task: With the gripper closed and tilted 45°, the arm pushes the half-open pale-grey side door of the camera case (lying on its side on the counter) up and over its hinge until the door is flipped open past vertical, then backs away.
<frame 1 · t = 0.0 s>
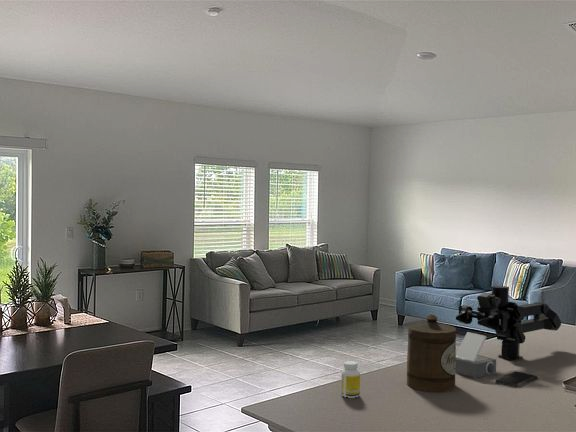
hand: (466, 320, 212), 17 cm above the kitchen island, tool horizontal, fingers open, 9 cm apart
wooden container: (430, 385, 193), on the kitchen island
phone: (516, 382, 199), on the kitchen island
camera case: (475, 372, 207), on the kitchen island
supplement bottle: (350, 396, 182), on the kitchen island
side door: (470, 347, 206), point 9 cm above the kitchen island, hinge at 50.0°
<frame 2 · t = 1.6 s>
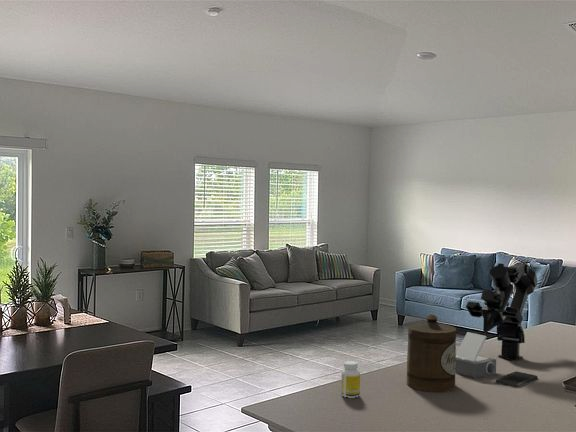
hand: (484, 331, 210), 13 cm above the kitchen island, tool tilted 45°, fingers closed
nothing on the kitchen island moved.
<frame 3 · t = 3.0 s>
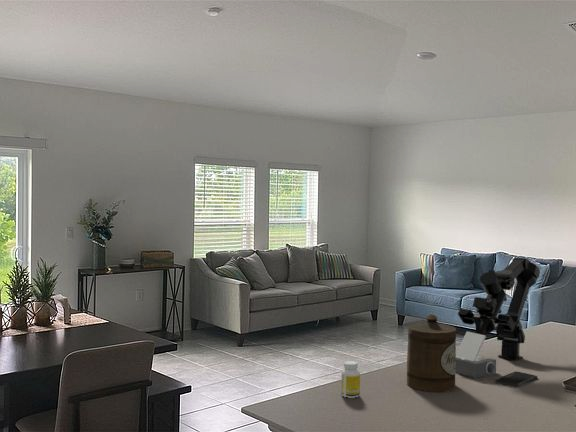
hand: (476, 339, 207), 11 cm above the kitchen island, tool tilted 45°, fingers closed, pressing on side door
side door: (470, 347, 206), point 9 cm above the kitchen island, hinge at 52.1°, touching gripper
everything else where it was.
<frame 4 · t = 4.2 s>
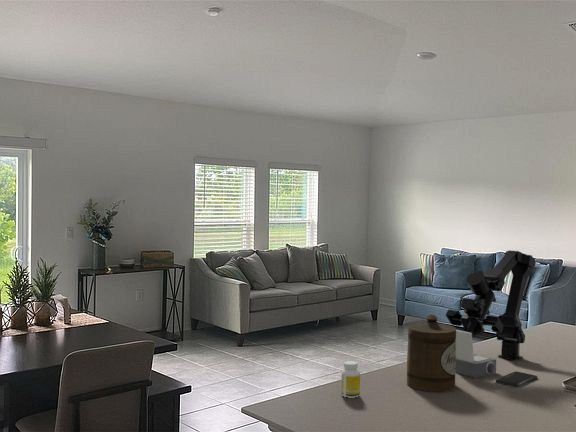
hand: (464, 341, 203), 11 cm above the kitchen island, tool tilted 45°, fingers closed, pressing on side door
side door: (462, 346, 203), point 10 cm above the kitchen island, hinge at 98.1°, touching gripper
everything else where it was.
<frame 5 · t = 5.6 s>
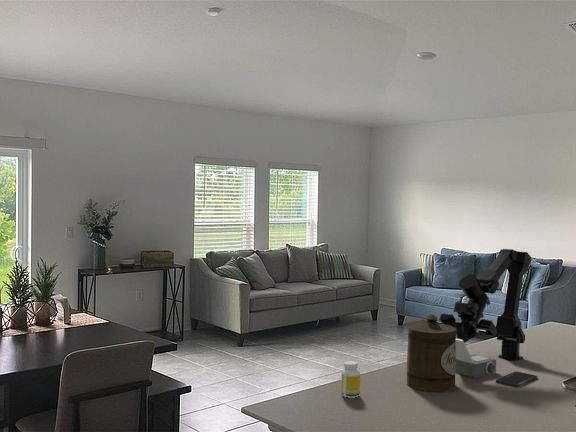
hand: (458, 345, 202), 10 cm above the kitchen island, tool tilted 45°, fingers closed, pressing on side door
side door: (458, 350, 202), point 9 cm above the kitchen island, hinge at 124.9°, touching camera case, gripper
everything else where it was.
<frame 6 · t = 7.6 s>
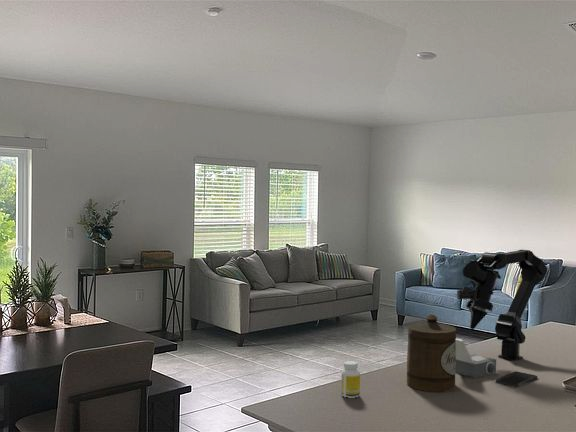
hand: (471, 328, 216), 13 cm above the kitchen island, tool tilted 20°, fingers closed
side door: (458, 350, 202), point 9 cm above the kitchen island, hinge at 124.9°, touching camera case
everything else where it was.
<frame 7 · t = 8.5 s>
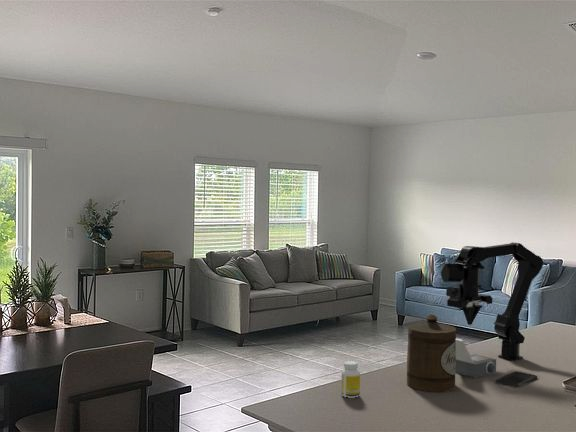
hand: (469, 324, 222), 13 cm above the kitchen island, tool pointing down, fingers closed
nothing on the kitchen island moved.
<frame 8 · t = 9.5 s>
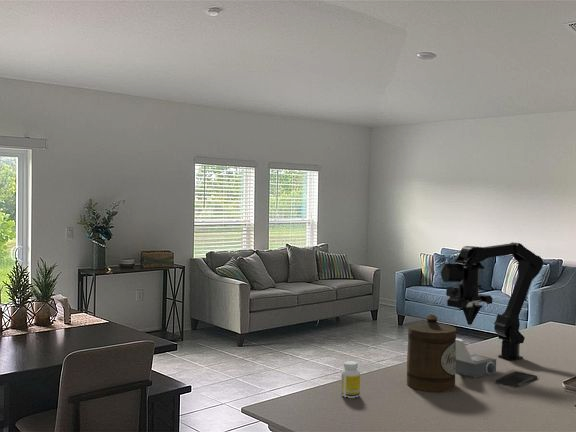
hand: (469, 324, 222), 13 cm above the kitchen island, tool pointing down, fingers closed
nothing on the kitchen island moved.
at the end: side door at +125° (first picture: +50°) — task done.
